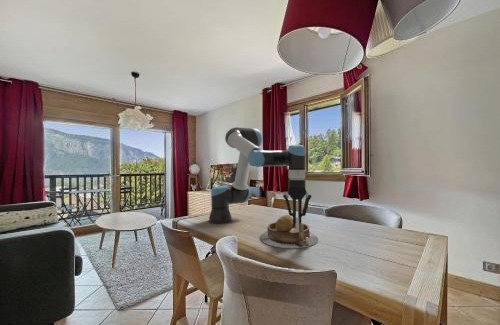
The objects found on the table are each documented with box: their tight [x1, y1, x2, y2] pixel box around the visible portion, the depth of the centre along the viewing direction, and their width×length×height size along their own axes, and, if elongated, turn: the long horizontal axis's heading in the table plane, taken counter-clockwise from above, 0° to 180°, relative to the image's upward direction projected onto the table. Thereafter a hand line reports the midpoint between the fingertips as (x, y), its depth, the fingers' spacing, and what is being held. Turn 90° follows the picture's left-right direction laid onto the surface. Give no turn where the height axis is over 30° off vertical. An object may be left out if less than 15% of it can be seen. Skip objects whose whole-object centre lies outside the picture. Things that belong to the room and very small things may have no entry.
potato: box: [275, 214, 293, 232], centre depth 112 cm, size 10×14×8 cm
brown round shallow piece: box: [266, 221, 311, 245], centre depth 115 cm, size 25×21×9 cm
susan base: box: [259, 230, 319, 250], centre depth 117 cm, size 29×29×4 cm
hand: (297, 230), depth 104 cm, fingers closed
